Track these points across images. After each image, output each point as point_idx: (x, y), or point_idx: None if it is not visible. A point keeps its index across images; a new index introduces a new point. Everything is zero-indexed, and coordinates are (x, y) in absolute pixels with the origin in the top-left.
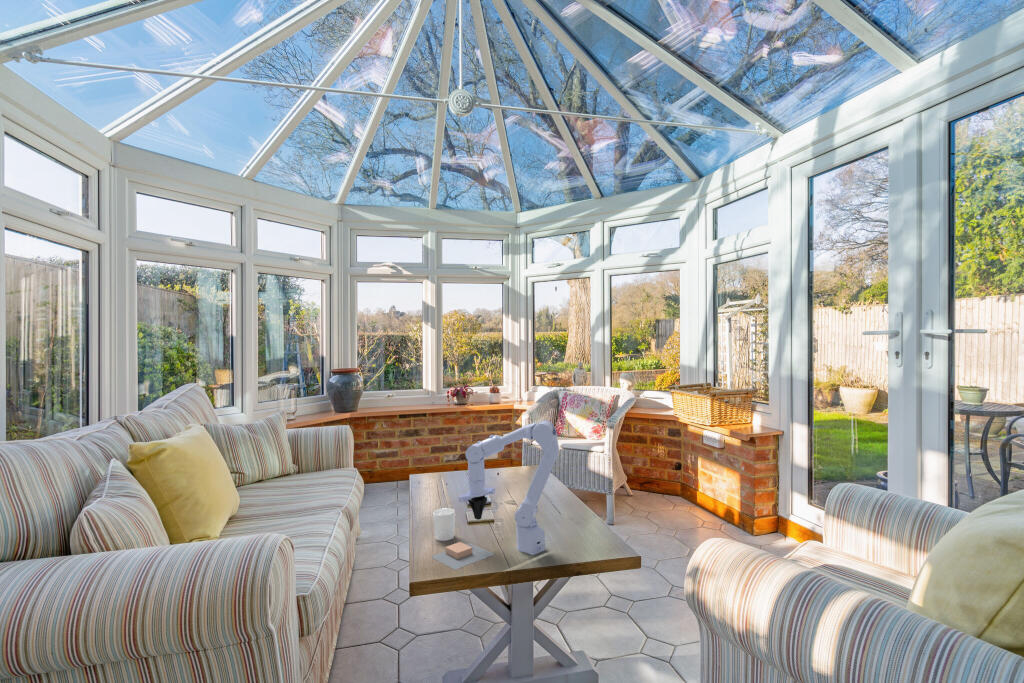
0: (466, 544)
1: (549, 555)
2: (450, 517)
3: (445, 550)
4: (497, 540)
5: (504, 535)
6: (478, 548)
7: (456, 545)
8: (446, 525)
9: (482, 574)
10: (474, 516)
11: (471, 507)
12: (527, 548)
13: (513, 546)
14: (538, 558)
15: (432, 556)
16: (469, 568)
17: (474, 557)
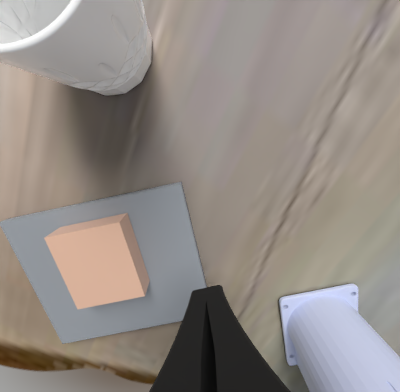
0: (162, 193)
1: None
2: (48, 62)
3: (54, 231)
4: (293, 200)
5: (346, 169)
6: (187, 251)
7: (93, 248)
8: (50, 79)
9: (133, 374)
10: (189, 304)
11: (153, 387)
12: (303, 367)
13: (303, 274)
14: None
15: (7, 226)
16: (113, 334)
17: (145, 304)
